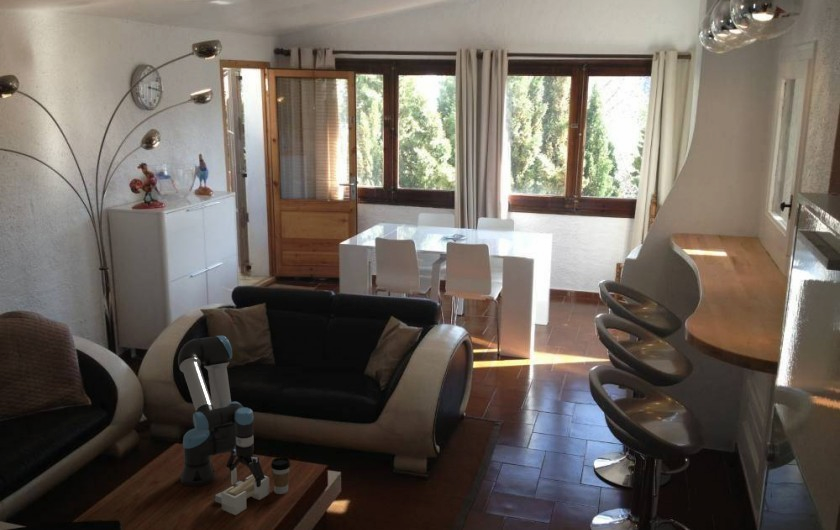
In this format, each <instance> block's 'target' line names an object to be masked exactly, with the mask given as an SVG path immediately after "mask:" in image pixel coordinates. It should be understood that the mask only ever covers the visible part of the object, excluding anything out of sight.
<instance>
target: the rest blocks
mask: <svg viewBox="0 0 840 530" xmlns="http://www.w3.org/2000/svg"><path fill="white" fill-rule="evenodd" d="M243 482H244V481H242V480H238V481H237V482H236V483H234V488H235V487H237V486H238V485H240V484H242V483H243ZM221 493H222V491H221V492H219V493H217V494H215V495H214V496H215V497H214V499H215V502H216V503H218V504H220V505H222V497H221Z"/></svg>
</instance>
